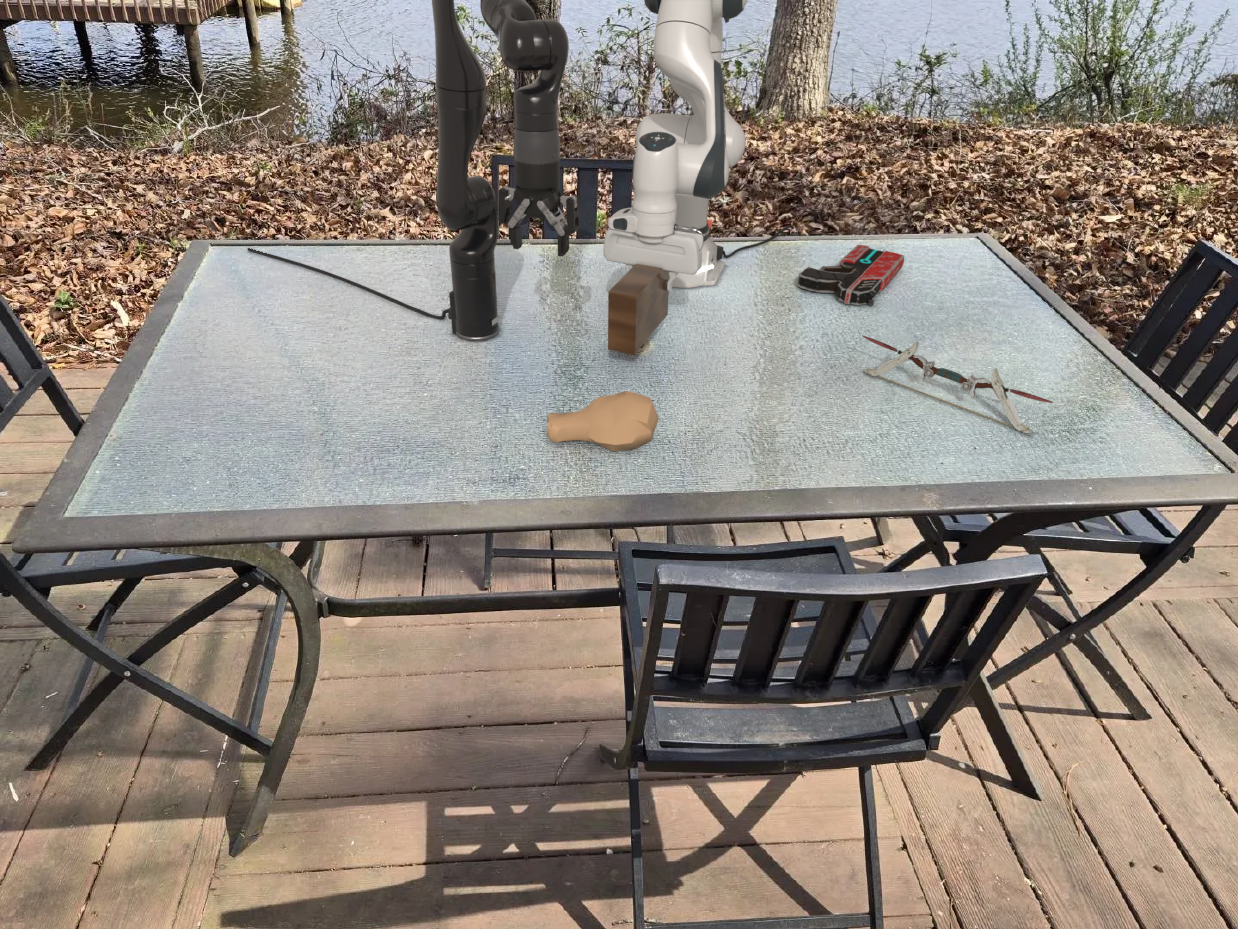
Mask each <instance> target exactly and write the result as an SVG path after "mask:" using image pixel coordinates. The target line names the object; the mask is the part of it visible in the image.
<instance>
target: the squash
mask: <svg viewBox="0 0 1238 929" xmlns="http://www.w3.org/2000/svg"><path fill="white" fill-rule="evenodd" d="M546 416H547V417H546V419H547V429H546V434H545V435H546V436H547V438H548V439H549V441H550V442H551V443H561V442H568V441H584V442H588V443H589V442H590V443H594V444H596V445H598V446H599V447H601V448H604V449H607V450H609V451H611V452H627V451H633V450H636V449H638V448H640V447H642V446H644V445H647V444H648V443H650V442H652V441H653V438H654V437H653V436H654V435H655V434H654V433H655V432H656V428H657V426H658V422H659V420H660V418H659V416H658V413H657V410H656V408H655V405H654V402H653V401H652V399H651V397H649V396H646V395H643V394H641V393H637V392H635V391H629V390H624V391H621V392H618V393H614V394H609V395H608V394H607V395H603V396H602V395H601V396H598V397H597V398H595V399H594V400H592V401H591V402H590V403H589V404H588V406H586V407H584V408H582V409H581V410H579V411H573V412H564V413H560V412H551V413H548V414H547V415H546Z"/></svg>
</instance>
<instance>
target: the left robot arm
mask: <svg viewBox="0 0 1238 929" xmlns="http://www.w3.org/2000/svg"><path fill="white" fill-rule="evenodd" d="M431 6H432V16H433V28H434V46H435V49H434V50H435V94H436V97H435V98H436V111H437V138H438V139H437V141H438V142H437V145H438V149H437V150H438V151H437V152H438V153H437V154H438V156H437V174H436V175H437V176H436V193H435V196H436V197H435V198H436V200H435V202H436V209H437V213H438V216H439V218H440V221H441V222H442V224H443V225H444V226H445V227H446V228H447V229H449V230H451V231H460V232H459V234H458V235H457V236H456V237H455V238H454V239H453V240H452V241H451V242H450V244H449V247H448V250H449V263H450V264H449V265H450V275H451V276H450V277H451V286H452V290H451V291H450V292H448V297H449V308H446V309H444V310H443V311H442V313H441V315H435V314H432V313H429V312H427V311H424V310H422V309H420V308H417V307H415V306H412V305H409V304H407V303H405V302H402V301H400V300H398V299H396V298H394V297H392V296H389V295H386V294H384V293H382V292H380V291H377V290H374V289H372V288H370V287H367V286H365V285H363V284H361V283H358V282H356V281H353V280H351V279H349V278H346V277H342V276H340V275H337V274H335V273H331V272H329V271H326V270H323V269H320V268H317V267H314V266H311V265H308V264H306V263H302V262H299V261H295V260H292V259H288V258H285V257H282V256H279V255H275V254H271V253H268V252H265V253H263V252H264V251H261V250H258V251H256V250H257V249H255V248H251V247H247V251H248V252H250V253H253V254H257V255H260V256H264V257H267V258H271V259H274V260H278V261H280V262H285V263H287V264H291V265H295V266H298V267H301V268H305V269H307V270H310V271H314V272H316V273H319V274H322V275H325V276H327V277H330V278H333V279H335V280H336V279H337V281H341V282H344V283H347V284H349V285H352V286H353V287H356V288H359V289H362V290H363V291H366V292H369V293H371V294H374V295H376V296H378V297H381V298H382V299H384V300H387V301H389V302H392V303H394V304H395V305H396V304H397V305H399V306H400V307H403V308H406V309H408V310H410V311H412V312H415V313H418V314H420V315H423V316H425V317H427V318H431V319H435V320H439V321H440V320H445V318H446V315H447V314H448V315H447V316H448V320H451V321H450V322H451V332H452V334H453V335H456V336H457V337H458V338H460V339H462V340H464V341H470V342H479V341H481V342H482V341H486V340H487V341H488V340H491V339H493V338H494V337H495V338H496V337H497V335H499V333H500V327H499V321H500V320H499V312H498V311H499V310H498V296H497V295H498V294H497V293H498V292H497V276H496V275H497V274H496V261H495V259H496V258H495V250H496V249H495V248H496V247H497V243H498V222H499V223H500V224H505V225H507V226H508V228H509V242H510V245H511V246H512V248H513V250H519V249H520V248H522V246H523V231H522V230H523V229H522V225H520V224H521V222H522V221H523V220H524V218H525V217H526V216H527V218H530V219H534V218H537V219H539V220H543V221H545V220H547V221H548V223H549V224H550V226H552V227H553V228H554V229H555V231H556V232H557V234H558V235H557V256H558V257H562V258H563V257H564V256H566V255H567V253H569V251H570V235H574V234H575V233H576V232H577V231H578V230H579V229H580V228H581V219H580V217H581V216H580V203H579V202H580V201H579V195H577V194H576V193H575V194H572V195H563V194H562V192H561V141H560V140H561V139H560V134H559V133H560V132H559V98H560V93H561V88H562V83H563V78H564V74H565V70H566V66H567V63H568V58H569V52H570V42H569V36H568V33H567V31H566V29H565V27H564V25H563V24H562V23H561V22H559V21H558V20H555V19H537V16H536V13H535V11H534V10H533V8H532V7H531V5H530V4H529V3H528V2H527V1H526V0H480V1H479V8H480V14H481V16H482V19H483V21H484V22H485V25H486V26H487V27H488V28H489V29H490V30H491V32H492V33H493V34H494V35H495V36H496V39H497V43H498V46H499V53H500V56H501V60H502V62H503V65H504V66H506V67H507V68H508V69H510V70H511V71H514V72H517V73H518V72H519V73H523V72H525V73H526V72H539V74H538V76H537V78H536V80H535V81H533V82H532V83H530V84H527V85H525V86H521V87H519V88H518V89H516V90H515V91H514V94H513V122H514V123H513V126H514V132H513V149H512V150H513V151H512V152H513V158H514V159H513V161H514V183H515V185H516V186H515V188H514V187H511V185H509V184H506V185H504V186H502V187H501V188H499V189H498V192H497V193H498V194H497V195H498V201H497V198H496V194H495V190H494V188H493V186H492V185H491V183H490V182H489V181H488V179H486V178H484V177H483V176H479V175H473V176H469V175H468V174H469V163H470V158H471V155H472V152H473V149H474V148H475V144H476V142H477V140H478V138H479V135H480V133H481V131H482V128H483V125H484V121H485V119H486V115H487V77H486V73H485V70H484V68H483V66H482V63H481V62H480V60H479V59H478V57H477V55H476V54H475V51H474V50H473V49H472V46H471V45H470V43H469V42H468V40H467V39H466V37H465V34H464V32H463V31H462V29H461V26H460V24H459V20H458V17H457V13H456V8H455V7H456V6H455V0H431ZM468 176H469V177H468ZM513 199H515V201H516V202H517V204H518V207H517V209H516V210H515V211H514V213H513V214H512V200H513ZM497 202H498V203H497ZM561 204H562V205H563V208H564V210H565V211H566V218H565V214H564V213H563V211H562V209H561V207H560V206H561ZM250 248H251V249H250ZM253 249H254V250H253ZM260 251H261V252H260ZM267 253H268V254H267Z"/></svg>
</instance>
